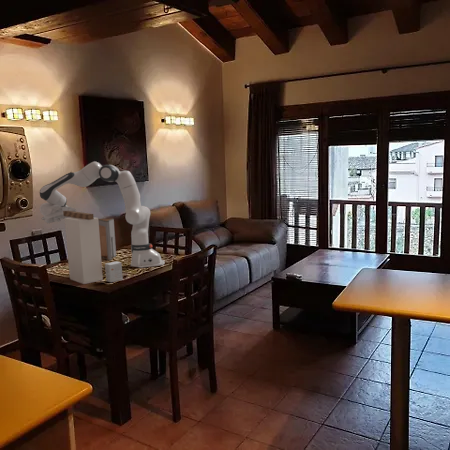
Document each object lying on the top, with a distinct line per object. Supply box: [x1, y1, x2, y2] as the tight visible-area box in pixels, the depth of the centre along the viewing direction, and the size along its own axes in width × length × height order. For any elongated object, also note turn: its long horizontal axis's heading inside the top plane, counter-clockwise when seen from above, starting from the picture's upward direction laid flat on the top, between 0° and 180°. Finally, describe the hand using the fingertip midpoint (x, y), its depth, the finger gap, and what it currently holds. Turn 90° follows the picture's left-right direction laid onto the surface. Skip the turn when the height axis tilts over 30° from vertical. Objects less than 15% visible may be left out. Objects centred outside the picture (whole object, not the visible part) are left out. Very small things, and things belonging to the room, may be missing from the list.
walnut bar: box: [63, 211, 94, 220], centre depth 277 cm, size 32×3×3 cm, turn 44°
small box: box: [104, 260, 124, 283], centre depth 275 cm, size 8×6×10 cm
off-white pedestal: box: [64, 217, 104, 285], centre depth 278 cm, size 18×12×37 cm, turn 44°
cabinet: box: [98, 218, 117, 262], centre depth 339 cm, size 21×10×28 cm, turn 36°
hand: (66, 218), depth 292 cm, fingers open, 8 cm apart
